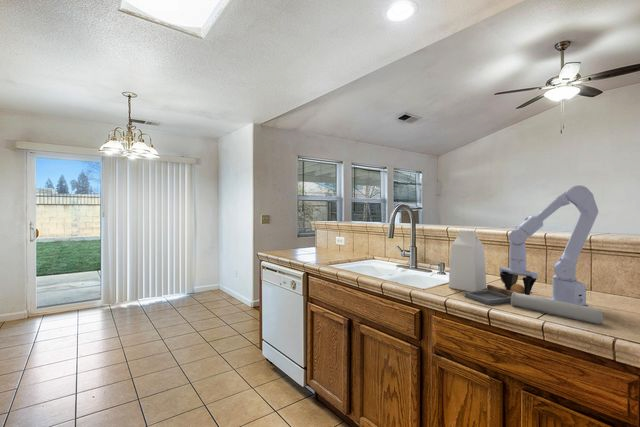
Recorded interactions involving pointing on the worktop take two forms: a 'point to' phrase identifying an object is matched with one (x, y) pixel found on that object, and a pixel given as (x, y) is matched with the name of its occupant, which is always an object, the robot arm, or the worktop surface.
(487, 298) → the tray
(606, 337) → the worktop surface
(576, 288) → the robot arm
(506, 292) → the fence
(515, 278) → the cup
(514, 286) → the egg
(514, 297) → the tube
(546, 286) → the worktop surface
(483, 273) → the milk
